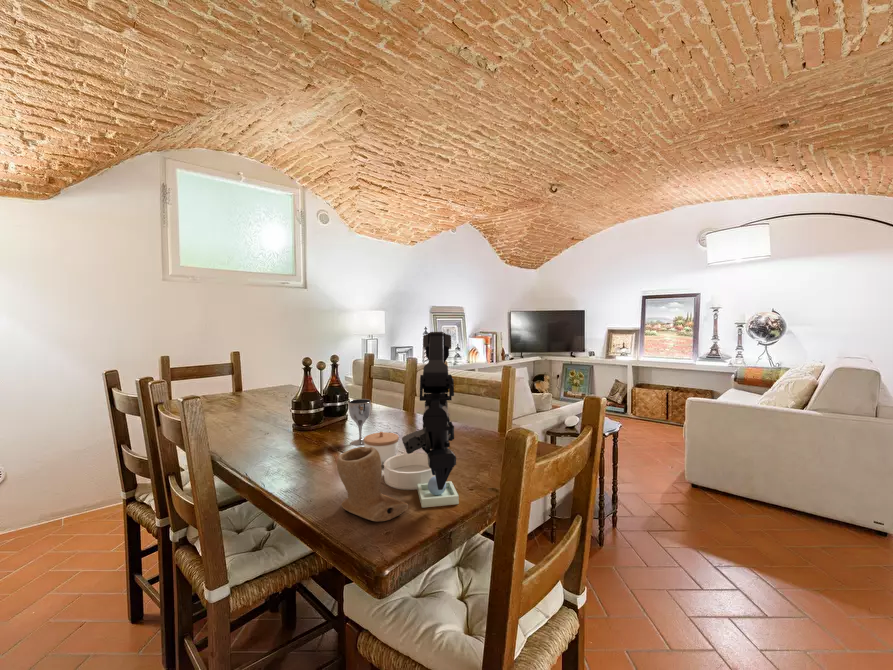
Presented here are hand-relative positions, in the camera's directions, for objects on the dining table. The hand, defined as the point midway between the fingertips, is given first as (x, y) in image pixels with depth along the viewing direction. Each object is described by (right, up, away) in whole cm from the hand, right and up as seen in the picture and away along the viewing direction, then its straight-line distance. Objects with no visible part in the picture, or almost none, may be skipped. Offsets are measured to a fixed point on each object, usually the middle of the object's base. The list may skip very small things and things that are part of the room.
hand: (437, 481), depth 104 cm
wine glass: (-29, -2, +45) cm, 54 cm away
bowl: (-7, -3, +13) cm, 15 cm away
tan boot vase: (-16, -5, -7) cm, 18 cm away
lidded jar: (-18, -3, +26) cm, 32 cm away
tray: (0, -4, 0) cm, 4 cm away
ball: (0, -1, 0) cm, 1 cm away
